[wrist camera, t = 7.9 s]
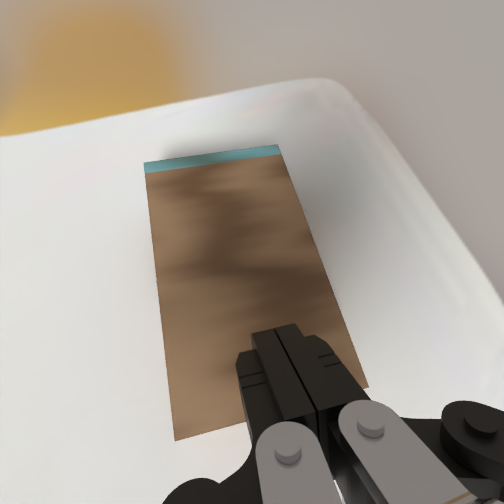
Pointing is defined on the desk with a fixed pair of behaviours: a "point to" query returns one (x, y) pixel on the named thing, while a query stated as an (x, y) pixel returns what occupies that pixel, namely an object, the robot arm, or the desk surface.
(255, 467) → the robot arm
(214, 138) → the desk surface
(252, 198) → the walnut block
